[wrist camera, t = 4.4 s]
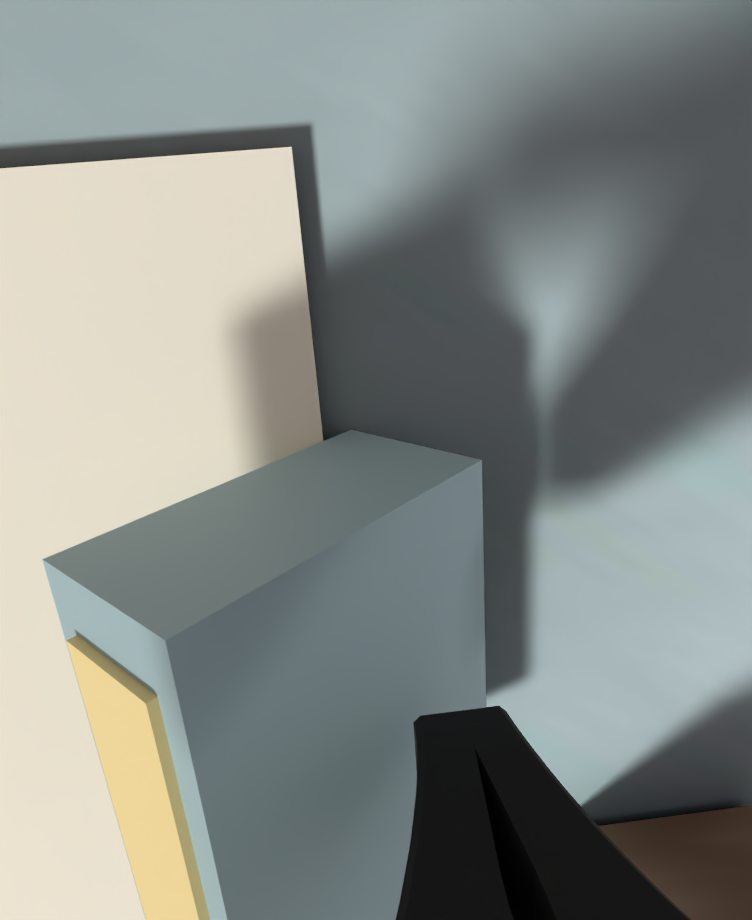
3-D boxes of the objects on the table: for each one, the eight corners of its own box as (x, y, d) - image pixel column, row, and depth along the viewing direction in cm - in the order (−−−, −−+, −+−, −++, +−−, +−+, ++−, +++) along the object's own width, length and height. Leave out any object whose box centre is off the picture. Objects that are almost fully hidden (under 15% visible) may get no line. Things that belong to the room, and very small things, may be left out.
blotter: (291, 147, 11) (291, 146, 11) (373, 903, 18) (374, 914, 18) (-348, 195, 11) (-365, 195, 10) (-21, 957, 17) (-26, 969, 17)
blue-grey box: (481, 460, 11) (152, 647, 7) (488, 817, 14) (257, 1097, 10) (351, 429, 13) (30, 563, 9) (379, 750, 16) (148, 962, 12)
